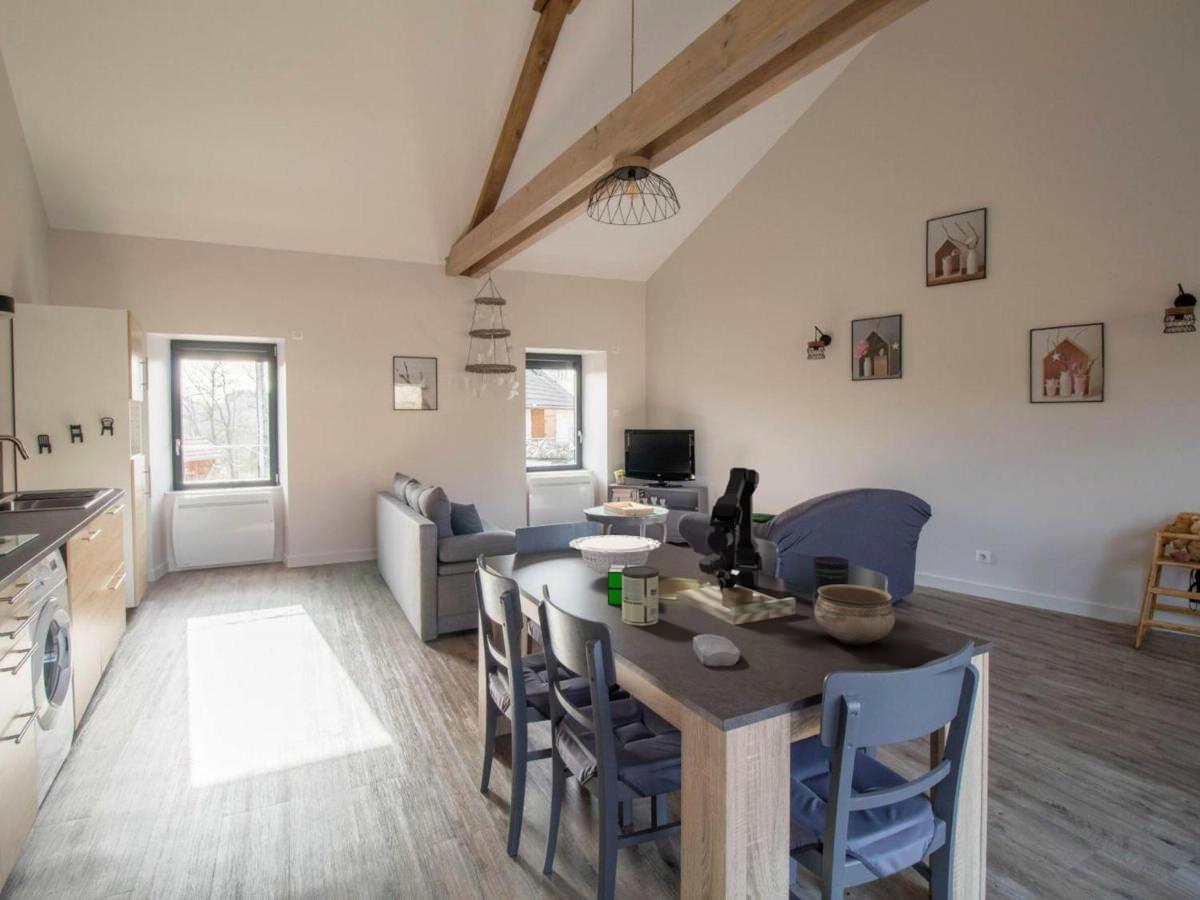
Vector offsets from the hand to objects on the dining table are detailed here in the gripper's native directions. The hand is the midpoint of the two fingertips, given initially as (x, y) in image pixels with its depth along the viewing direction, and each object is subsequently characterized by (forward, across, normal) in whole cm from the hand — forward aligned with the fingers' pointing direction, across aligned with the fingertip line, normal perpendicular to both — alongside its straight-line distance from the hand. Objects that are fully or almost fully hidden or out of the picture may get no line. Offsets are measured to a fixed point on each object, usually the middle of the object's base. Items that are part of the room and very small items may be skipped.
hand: (725, 598), depth 194 cm
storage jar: (+4, +13, +28) cm, 31 cm away
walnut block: (+1, +5, 0) cm, 6 cm away
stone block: (+4, +29, -25) cm, 38 cm away
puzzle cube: (+4, -23, -20) cm, 31 cm away
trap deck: (+4, -3, +5) cm, 7 cm away
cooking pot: (+4, +35, +13) cm, 38 cm away
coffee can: (+4, -4, -26) cm, 27 cm away
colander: (+4, -48, -10) cm, 49 cm away
